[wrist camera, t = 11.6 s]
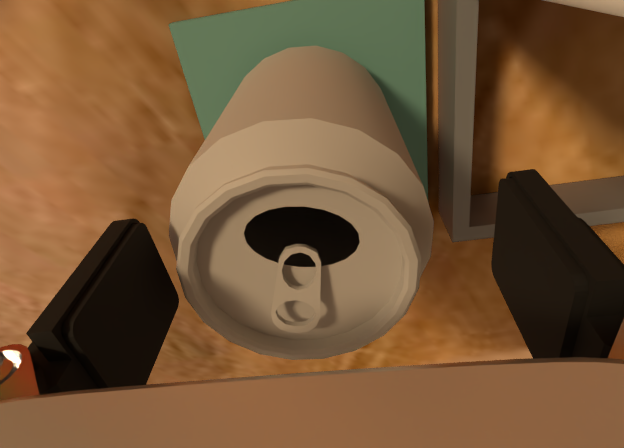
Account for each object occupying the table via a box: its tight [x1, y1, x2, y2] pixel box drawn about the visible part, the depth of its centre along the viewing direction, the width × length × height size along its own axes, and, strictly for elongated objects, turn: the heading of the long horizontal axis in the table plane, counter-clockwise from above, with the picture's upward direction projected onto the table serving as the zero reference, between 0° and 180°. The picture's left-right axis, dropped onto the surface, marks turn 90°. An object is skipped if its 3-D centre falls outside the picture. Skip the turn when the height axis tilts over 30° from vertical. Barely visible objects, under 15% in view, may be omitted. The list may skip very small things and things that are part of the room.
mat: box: [169, 0, 428, 200], centre depth 21 cm, size 11×11×1 cm
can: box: [169, 46, 434, 360], centre depth 16 cm, size 8×8×12 cm
